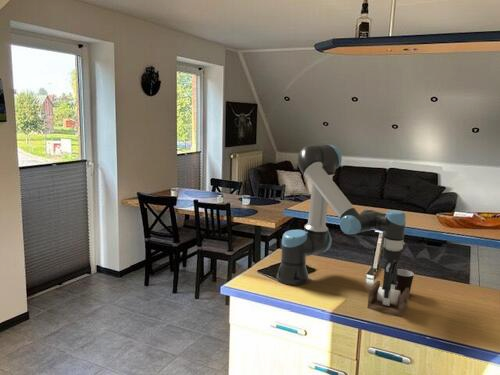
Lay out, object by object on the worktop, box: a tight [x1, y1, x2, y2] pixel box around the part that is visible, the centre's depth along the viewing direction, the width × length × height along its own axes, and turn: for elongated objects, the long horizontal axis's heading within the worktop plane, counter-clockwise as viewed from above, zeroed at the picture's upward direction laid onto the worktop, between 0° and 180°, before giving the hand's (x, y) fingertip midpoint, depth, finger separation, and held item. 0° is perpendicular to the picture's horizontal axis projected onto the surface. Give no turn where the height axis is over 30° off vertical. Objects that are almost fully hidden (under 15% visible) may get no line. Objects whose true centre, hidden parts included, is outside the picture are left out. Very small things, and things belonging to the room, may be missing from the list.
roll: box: [377, 285, 401, 305], centre depth 174 cm, size 8×6×6 cm
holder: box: [367, 280, 410, 318], centre depth 174 cm, size 14×12×8 cm
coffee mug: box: [394, 268, 415, 294], centre depth 190 cm, size 12×9×10 cm
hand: (388, 301), depth 175 cm, fingers closed on roll, 6 cm apart
